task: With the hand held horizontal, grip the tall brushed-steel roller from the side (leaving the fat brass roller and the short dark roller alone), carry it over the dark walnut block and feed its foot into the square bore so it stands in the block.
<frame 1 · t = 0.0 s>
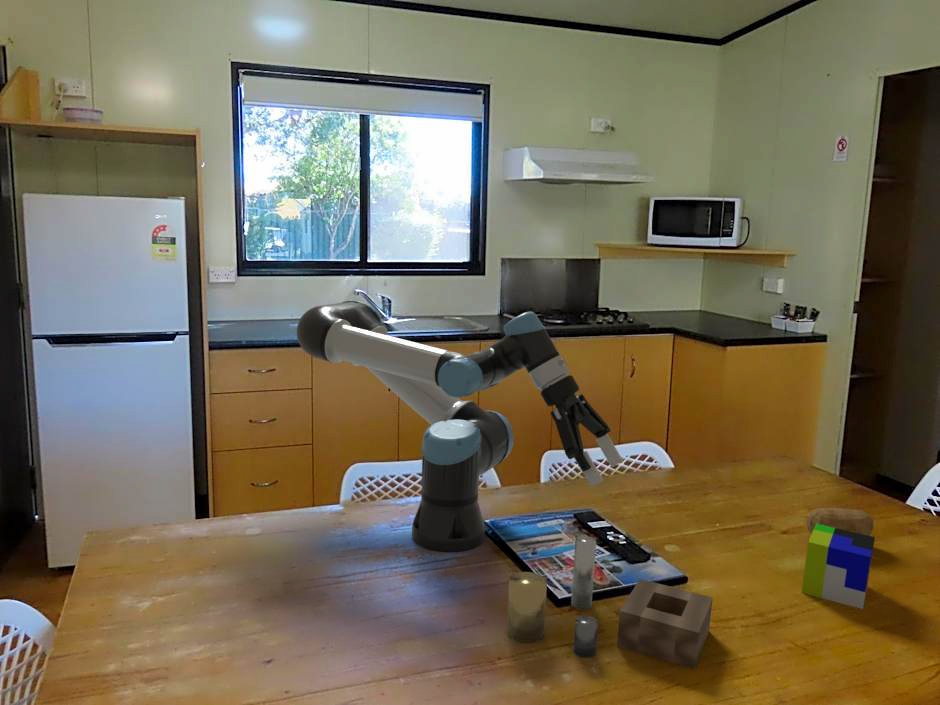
hand: (607, 473, 150), 15 cm above the table, tool tilted 35°, fingers open, 13 cm apart
short dark roller: (584, 651, 115), on the table
puzzle toy: (834, 590, 138), on the table
steel roller: (581, 604, 129), on the table
walnut block: (664, 638, 120), on the table
potato: (837, 545, 157), on the table
fat brass roller: (525, 632, 120), on the table
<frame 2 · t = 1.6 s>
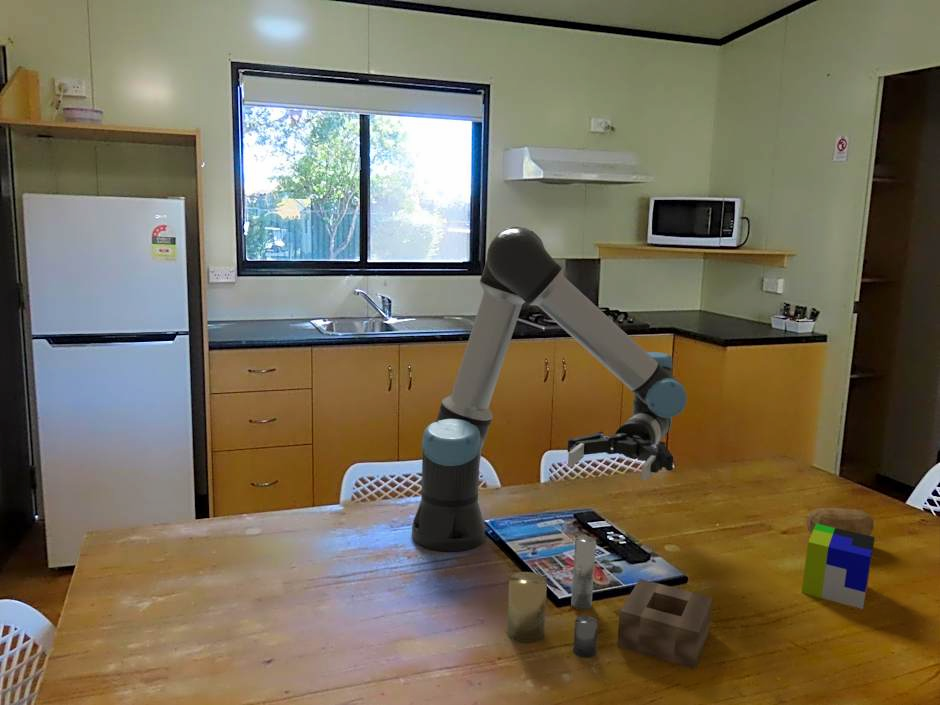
hand: (606, 466, 133), 22 cm above the table, tool horizontal, fingers open, 13 cm apart
nothing on the table moved.
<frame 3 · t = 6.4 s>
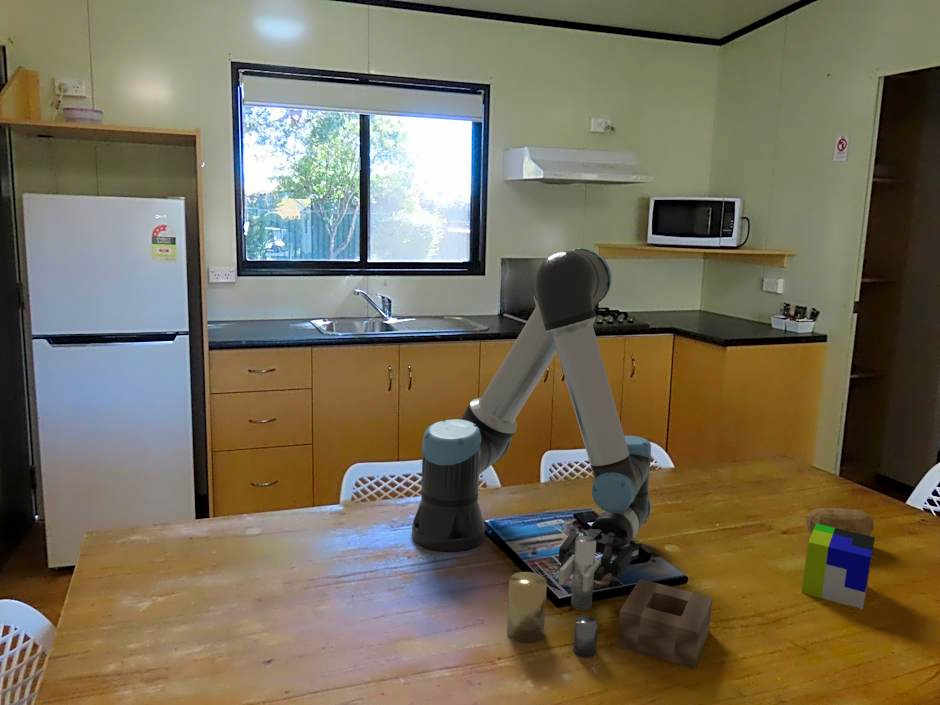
hand: (573, 580, 123), 7 cm above the table, tool horizontal, fingers closed on steel roller, 3 cm apart
steel roller: (581, 604, 129), on the table, touching gripper
everything else where it was.
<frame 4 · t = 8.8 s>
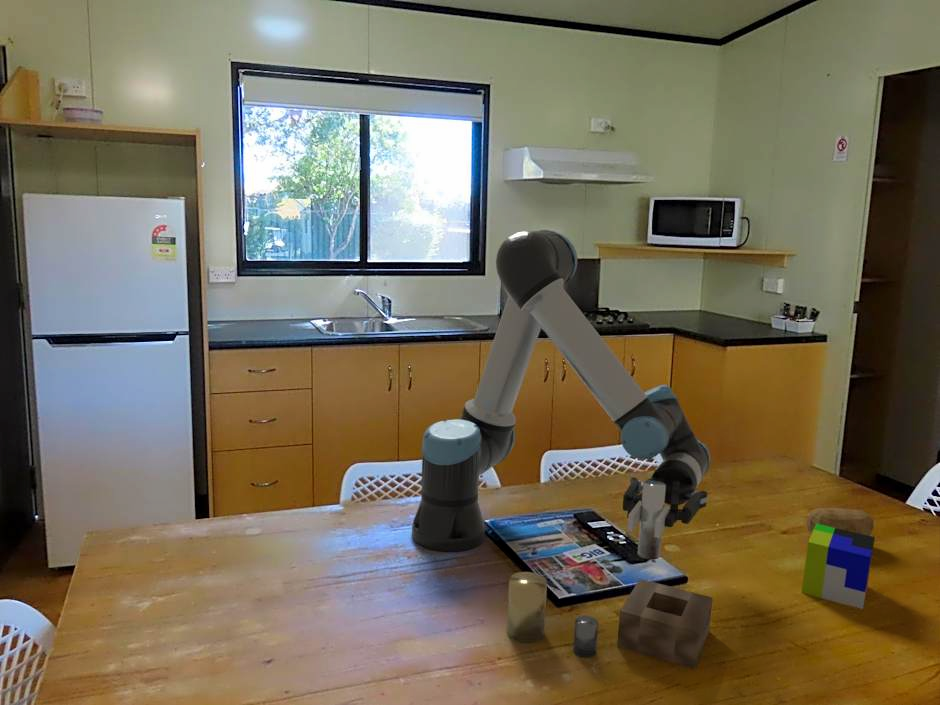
hand: (643, 526, 114), 20 cm above the table, tool horizontal, fingers closed on steel roller, 3 cm apart
steel roller: (648, 554, 120), point 13 cm above the table, touching gripper
everything else where it was.
when the fingers open (12 cm above the table, at t = 11.3 s): steel roller drops 5 cm, resting in walnut block.
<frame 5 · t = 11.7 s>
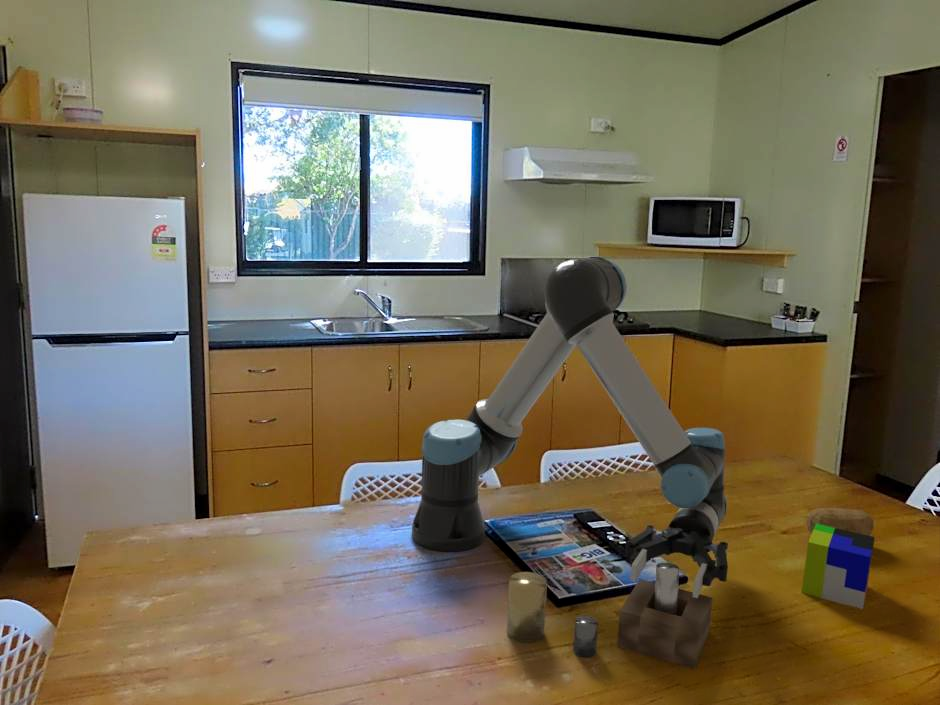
hand: (663, 581, 113), 12 cm above the table, tool horizontal, fingers open, 9 cm apart
steel roller: (664, 637, 120), resting in walnut block
everything else where it was.
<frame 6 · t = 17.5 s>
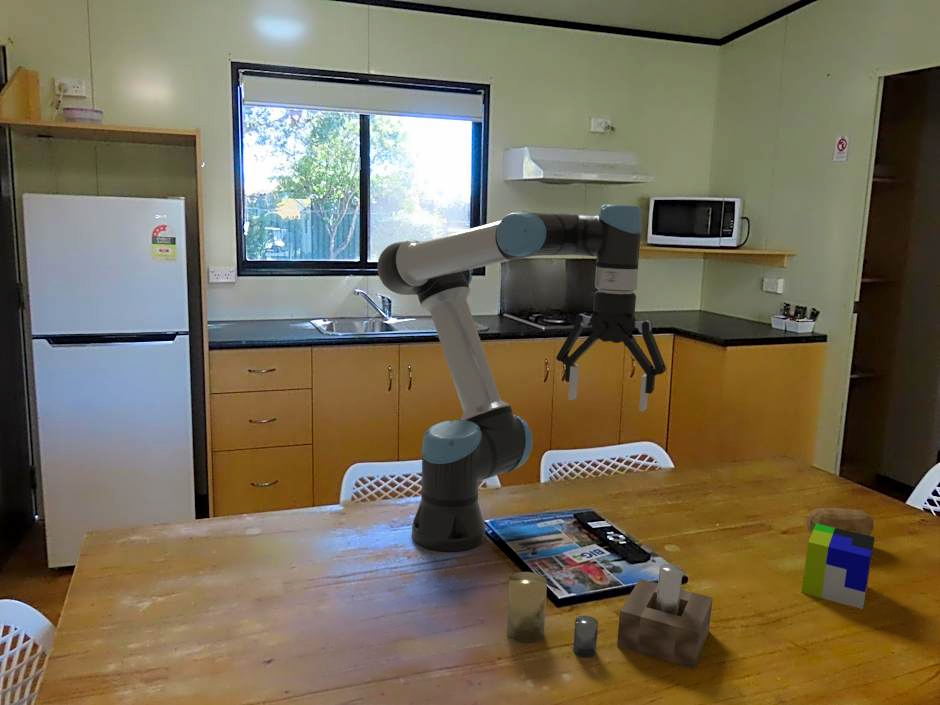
hand: (606, 404, 139), 32 cm above the table, tool pointing down, fingers open, 13 cm apart
nothing on the table moved.
at the end: steel roller 0.1 cm off-centre on the walnut block, point 0.0 cm above the walnut block's base; steel roller tilted 0°; the gripper is holding nothing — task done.
